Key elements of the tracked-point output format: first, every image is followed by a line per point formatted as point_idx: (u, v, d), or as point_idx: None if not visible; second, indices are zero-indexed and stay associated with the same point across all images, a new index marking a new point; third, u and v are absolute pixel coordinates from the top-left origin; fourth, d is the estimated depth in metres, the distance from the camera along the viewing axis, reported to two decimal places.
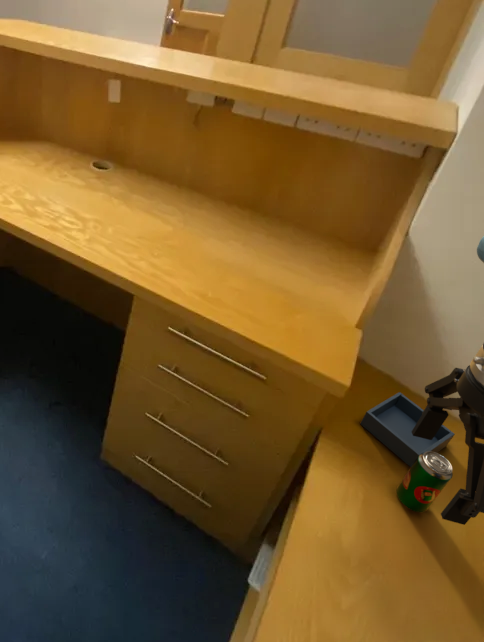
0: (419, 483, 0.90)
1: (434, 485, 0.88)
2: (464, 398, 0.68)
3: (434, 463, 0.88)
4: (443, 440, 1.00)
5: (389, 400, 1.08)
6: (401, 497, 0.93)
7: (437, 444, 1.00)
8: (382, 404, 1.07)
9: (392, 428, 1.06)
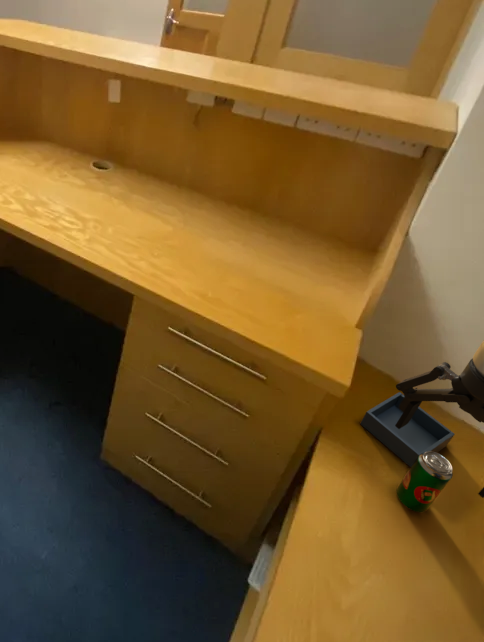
0: (419, 483, 0.90)
1: (434, 485, 0.88)
2: None
3: (434, 463, 0.88)
4: (443, 440, 1.00)
5: (389, 400, 1.08)
6: (401, 497, 0.93)
7: (437, 444, 1.00)
8: (382, 404, 1.07)
9: (392, 428, 1.06)
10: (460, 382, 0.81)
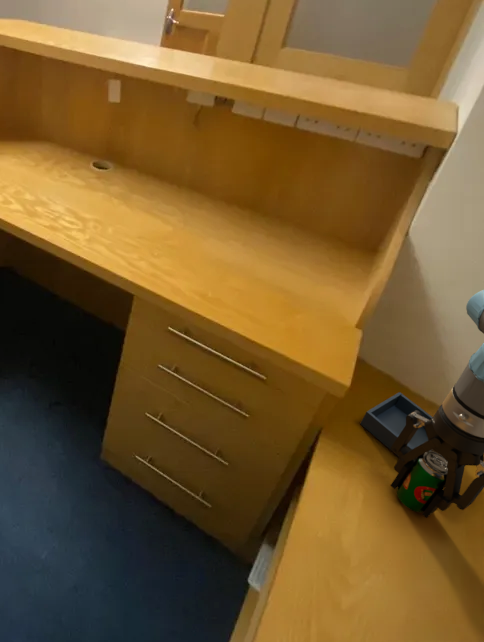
0: (419, 483, 0.90)
1: (434, 485, 0.88)
2: (455, 446, 0.81)
3: (434, 463, 0.88)
4: None
5: (389, 400, 1.08)
6: (401, 497, 0.93)
7: None
8: (382, 404, 1.07)
9: (392, 428, 1.06)
10: (432, 425, 0.86)
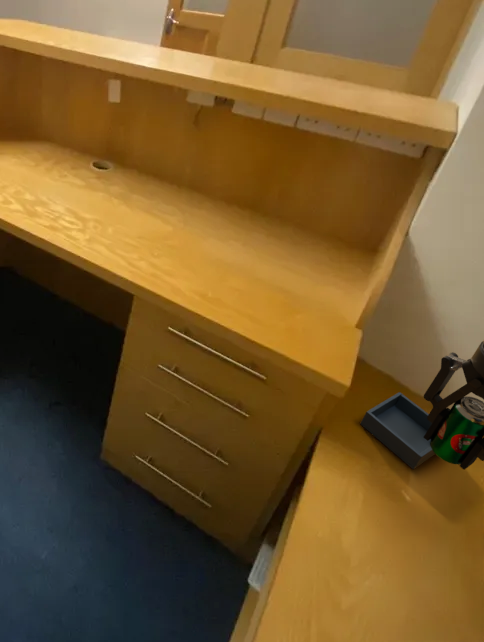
0: (456, 431, 0.82)
1: (474, 432, 0.80)
2: None
3: (473, 408, 0.81)
4: None
5: (389, 400, 1.08)
6: (436, 448, 0.86)
7: None
8: (382, 404, 1.07)
9: (392, 428, 1.06)
10: (471, 365, 0.79)
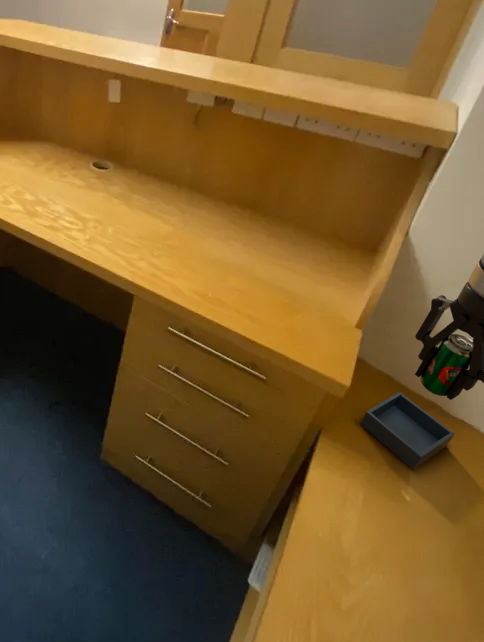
0: (444, 364, 0.92)
1: (459, 364, 0.90)
2: (482, 317, 0.84)
3: (459, 343, 0.91)
4: (443, 440, 1.00)
5: (389, 400, 1.08)
6: (426, 382, 0.96)
7: (437, 444, 1.00)
8: (382, 404, 1.07)
9: (392, 428, 1.06)
10: (457, 304, 0.89)
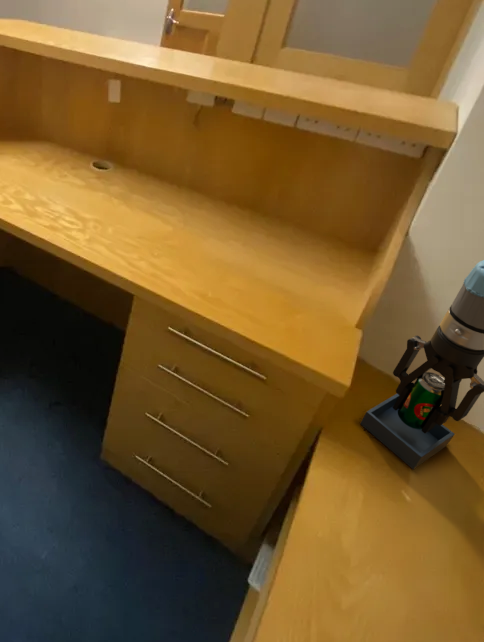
0: (418, 400, 0.98)
1: (432, 401, 0.97)
2: (452, 360, 0.90)
3: (432, 381, 0.97)
4: (443, 440, 1.00)
5: (389, 400, 1.08)
6: (402, 416, 1.02)
7: (437, 444, 1.00)
8: (382, 404, 1.07)
9: (392, 428, 1.06)
10: (430, 345, 0.95)
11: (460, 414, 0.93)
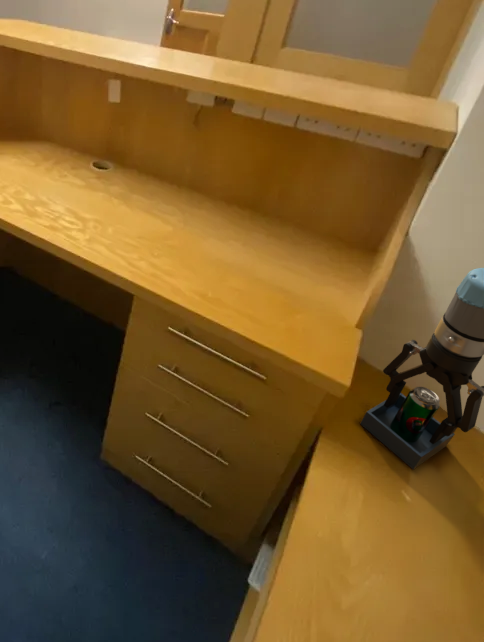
0: (410, 414, 1.01)
1: (423, 415, 0.99)
2: (446, 367, 0.92)
3: (423, 396, 0.99)
4: (443, 440, 1.00)
5: None
6: (395, 429, 1.04)
7: (437, 444, 1.00)
8: (382, 404, 1.07)
9: None
10: (426, 352, 0.97)
11: (466, 424, 0.93)
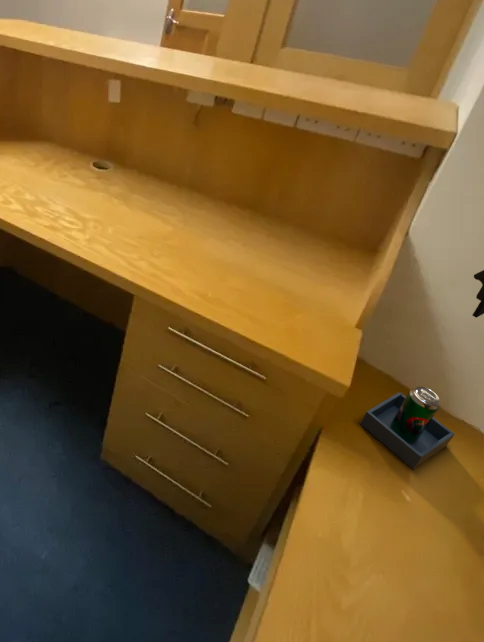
0: (410, 414, 1.01)
1: (423, 415, 0.99)
2: None
3: (423, 396, 0.99)
4: (443, 440, 1.00)
5: (389, 400, 1.08)
6: (395, 429, 1.04)
7: (437, 444, 1.00)
8: (382, 404, 1.07)
9: None
10: None
11: None
